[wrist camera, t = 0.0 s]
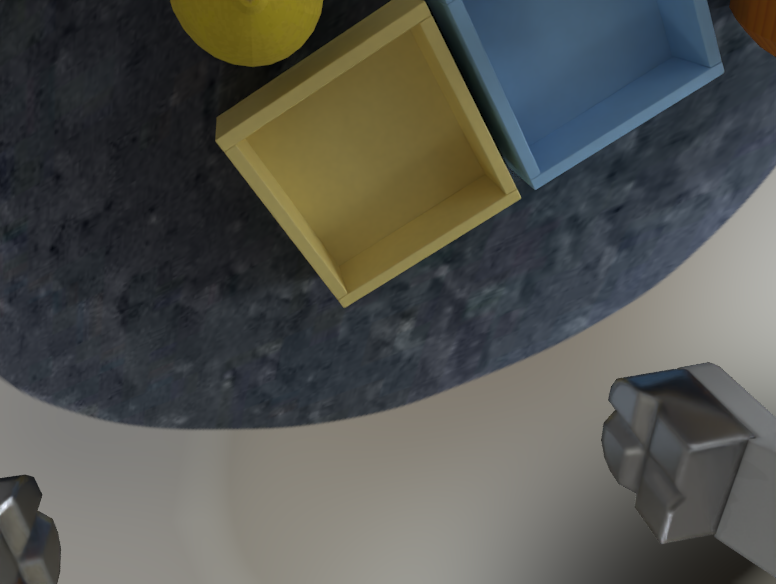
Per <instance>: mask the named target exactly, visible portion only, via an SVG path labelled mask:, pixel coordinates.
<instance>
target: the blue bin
mask: <svg viewBox="0 0 776 584" xmlns="http://www.w3.org/2000/svg"><path fill="white" fill-rule="evenodd" d="M426 1H427V3H428V5H429V7H430V9H431V11H432V13H433V15H434V17H435V19H436V21H437V23H438V25H439V27H440V29H441V31H442V33H443V35H444V37H445V39H446V41H447V43H448V46H449V48H450V50H451V52H452V54H453V56H454V58H455V60H456V62H457V64H458V66H459V68H460V70H461V72H462V74H463V76H464V78H465V80H466V82H467V84H468V86H469V88H470V91H471V93H472V95H473V97H474V99H475V101H476V103H477V105H478V107H479V109H480V111H481V113H482V115H483V117H484V119H485V121H486V123H487V125H488V127H489V129H490V131H491V133H492V136H493V138H494V140H495V142H496V144H497V146H498V148H499V150H500V152H501V154H502V156H503V158H504V160H505V162H506V164H507V166H509V167H510V168H511V169H512V170H513V171H514V172H515V173H516V174H517V175H519V176H520V177H521V178H522V179H523V180H524V181H525V182H526V183H528V184H529V185H530V186H531V187H532V188H533V189H534V190H536V189H538V188H539V187H541V186H542V185H544V184H546V183H547V182H549V181H550V180H552V179H554V178H555V177H557V176H559V175H560V174H562V173H563V172H565V171H567V170H568V169H570V168H571V167H573V166H575V165H576V164H578V163H580V162H581V161H583V160H584V159H586V158H588V157H589V156H591V155H592V154H594V153H596V152H597V151H599V150H600V149H602V148H604V147H605V146H607V145H609V144H610V143H612V142H613V141H615V140H617V139H618V138H620V137H621V136H623V135H625V134H626V133H628V132H630V131H631V130H633V129H634V128H636V127H638V126H639V125H641V124H642V123H644V122H646V121H647V120H649V119H651V118H652V117H654V116H655V115H657V114H659V113H660V112H662V111H663V110H665V109H667V108H668V107H670V106H671V105H673V104H675V103H676V102H678V101H680V100H681V99H683V98H684V97H686V96H688V95H689V94H691V93H692V92H694V91H696V90H697V89H699V88H701V87H702V86H704V85H705V84H707V83H709V82H710V81H712V80H713V79H715V78H717V77H718V76H720V75H721V74H723V73H724V68H723V64H722V62H721V56H720V52H719V48H718V44H717V40H716V36H715V32H714V27H713V23H712V19H711V15H710V11H709V7H708V3H707V0H426Z"/></svg>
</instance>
